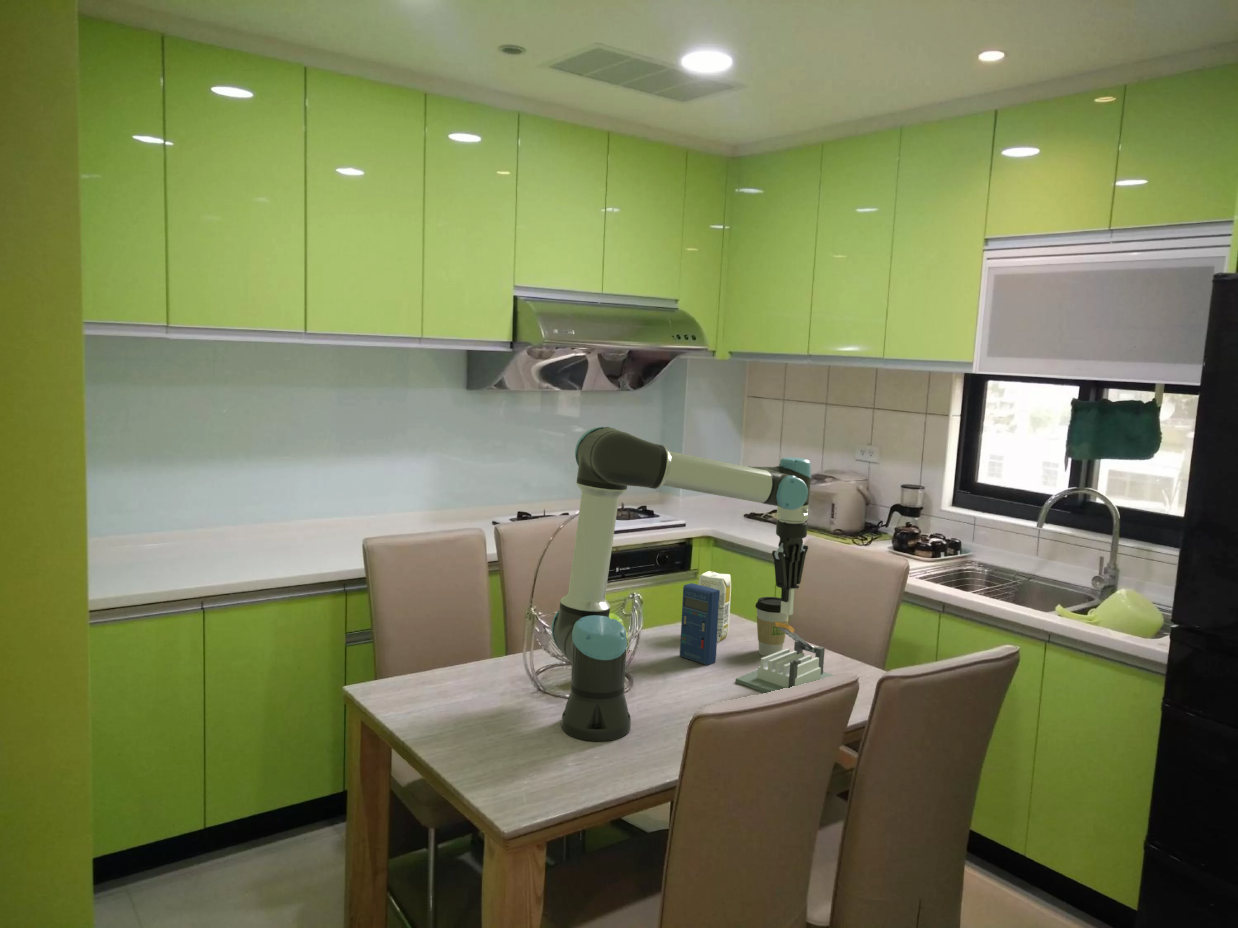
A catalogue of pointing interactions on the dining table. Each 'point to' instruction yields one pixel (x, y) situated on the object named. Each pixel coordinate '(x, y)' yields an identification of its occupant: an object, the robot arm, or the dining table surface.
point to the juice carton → (724, 586)
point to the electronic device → (699, 623)
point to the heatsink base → (786, 670)
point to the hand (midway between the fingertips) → (786, 613)
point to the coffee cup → (770, 625)
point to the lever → (795, 637)
